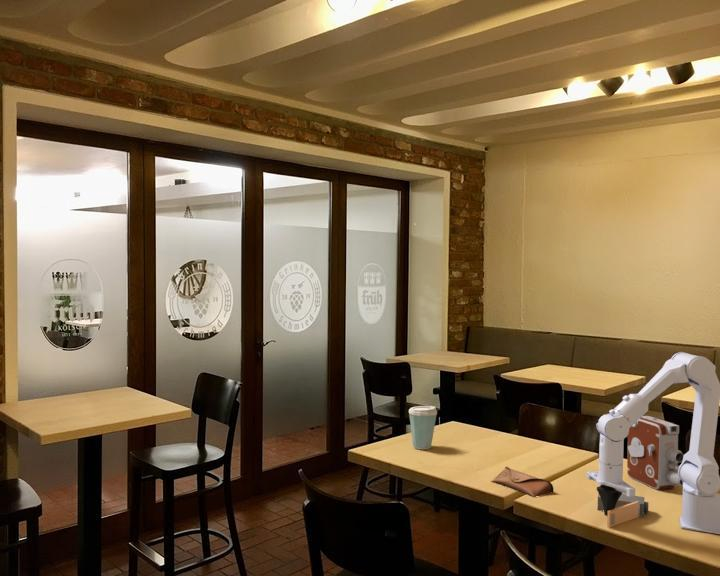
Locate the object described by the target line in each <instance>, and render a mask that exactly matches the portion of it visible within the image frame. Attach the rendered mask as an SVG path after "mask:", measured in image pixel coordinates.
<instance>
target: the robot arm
mask: <svg viewBox="0 0 720 576" xmlns="http://www.w3.org/2000/svg"><path fill="white" fill-rule="evenodd" d="M684 383H688V384H689V385H690V386H691V387H692V388H693V389H694V390H695V397H694V404H693V405H694V406H693V407H694V408H693V413H692V415H693V416H692V423H691V431H690V440H689V441H690V442H689V450H688V451H687V452H686V453H684V454H683V455H684V456H683V460H682V461H681V462H680V463H681V464H680V465H678V466H679V469H678V471H677V472H678V476H679V478H680V479H681V481H683V486H682V501H681V502H682V503H681V505H682V509H681V515H679V521H680V528H681V529H685V530H693V531H698V532H703V533H710V534H716V535H720V493H718V492H719V491H720V475H719V474H720V473H719V469H720V468H719V465H718V463H717V460H716V459H715V457H714V454H715V451H714V450H715V446H716V445H715V444H716V443H715V442H716V436H717V426H718V417H719V410H720V409H719V407H720V381H719V378H718V375H717V373H716V365H715V364H714V363H712V361H711V360H709V359H708V358H707V357H705V356H701V355H695V354H690V353H688V352H684V351H679V352H677V353H675V354H673V355H672V357H671V358H670V359H668V360H666V361H665V363H664V364H663V365H662V368H661V369H660V370H659V371H658V372H657V373H656V374H655V375H654V376H653V377H652V378H651V379H650V380H649V382H647V383H646V384H645V385H644V386H643V388H641V390H640V391H639V392H638V393H629V394H628V395H623V396H622V401H621V402H620V403H619V404H618V405H616V407H614V408H613V409H610V410H609V411H608V412H609V413H606V414H603V415H602V416H600V418H599V419H598V422H597V423H596V424H595V425H596V426H595V427H596V430H597V431H598V433H599V445H598V446H599V449H598V451H599V452H598V453H599V454H598V472H597V471H594V470H588V471H587V472H586V479H587V480H589V481H590V480H591V481H594V482H595V483H596V484H598V485H600V486H597V487H596V491H597V493H598V494H599V495H600V497H601V500H602V503H603V507H604V511H603V512H604V516H605V517H607V514H608V511H609V510H612V509H615V506H616V503H617V501H618V499H619V498H620V496H621V495H622V494H626V496H628V497H633V496H636V488H635V487H634V486H631V485H630V484H629V483H627V482H626V481H625V480H624V479H623V473H624V448H625V447H624V444H625V443H624V442H625V438H628V433H629V428H630V427H631V426H632V425H633V424H634V423H635V422H636V421H637V420H638V419H640V418H641V417H642V416H645V414H646V413H647V412H648V411H649V404H650V402H652V401H653V400H655V399H656V398H657V397H658V396H660V395H661V394H662V393H663V392H665V391H666V390H667V389H668V388H669V387H671V386H672V385H673V384H684Z"/></svg>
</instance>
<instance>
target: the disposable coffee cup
mask: <svg viewBox="0 0 720 576" xmlns="http://www.w3.org/2000/svg"><path fill="white" fill-rule="evenodd" d="M408 413H409V414H408V415H409V421H410V431H411V440H412V446H413V448H414V449H417V450H429V449H431V448H432V443H433V436H434V432H435V425H436V421H437V415H438V411H437V408H436V406H434V405H433V406H432V405H418V406H413V407H410V408H409V409H408Z"/></svg>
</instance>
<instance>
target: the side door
mask: <svg viewBox="0 0 720 576" xmlns="http://www.w3.org/2000/svg"><path fill="white" fill-rule="evenodd" d="M606 518H607V519H606V520H607V521H606V524H607V525H606V526H607V528H612V527H615V526H617V525H620V524H623V523H626V522H628V521H631V520H634V519H637V518H641V517H640V501H636V502H633V503H630V504H627V505H624V506H621V507H618V508H615V509H612V510H609V511H608V514H607V516H606Z"/></svg>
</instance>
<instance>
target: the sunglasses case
mask: <svg viewBox="0 0 720 576" xmlns="http://www.w3.org/2000/svg"><path fill="white" fill-rule="evenodd" d="M490 482H491V483H493V484H496V485H497V484H498V485H501V486H504V487H506V488H508V489H512V490H514V491H517V492H520V493H522V494H525V495H528V496H530V497H532V498H535V497H536V496H539V497H542V496H541V495H543V496H545V494H546V495H548V493H549V494H552V493H551V492H553V493H554V485H553V484H552V482H550V481H549V480H547V479H543V478H538V477H535V476H533V475H531V474H530V475H529V474H528V473H524V472H523V471H522V472H521V471H518V470H515V469H512V468H510V467H509V466H505V467H504V469H503V470H502V471H501V472H500V473H498V474H497V476H495V478H494V479H493V478H492V480H490ZM536 498H537V497H536Z"/></svg>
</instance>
